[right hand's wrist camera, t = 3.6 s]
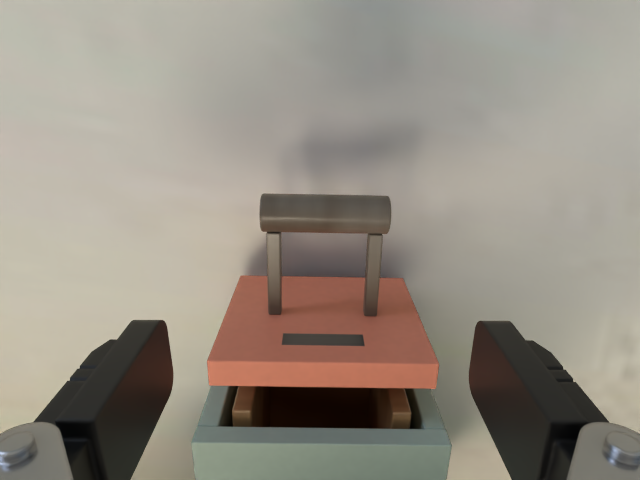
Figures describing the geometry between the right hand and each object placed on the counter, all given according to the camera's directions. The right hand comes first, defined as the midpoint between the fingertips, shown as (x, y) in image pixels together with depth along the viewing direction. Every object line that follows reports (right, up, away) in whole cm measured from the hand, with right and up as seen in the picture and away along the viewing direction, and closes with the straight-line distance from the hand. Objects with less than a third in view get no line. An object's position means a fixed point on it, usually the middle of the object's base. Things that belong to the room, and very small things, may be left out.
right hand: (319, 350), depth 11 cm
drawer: (0, -2, +14) cm, 14 cm away
